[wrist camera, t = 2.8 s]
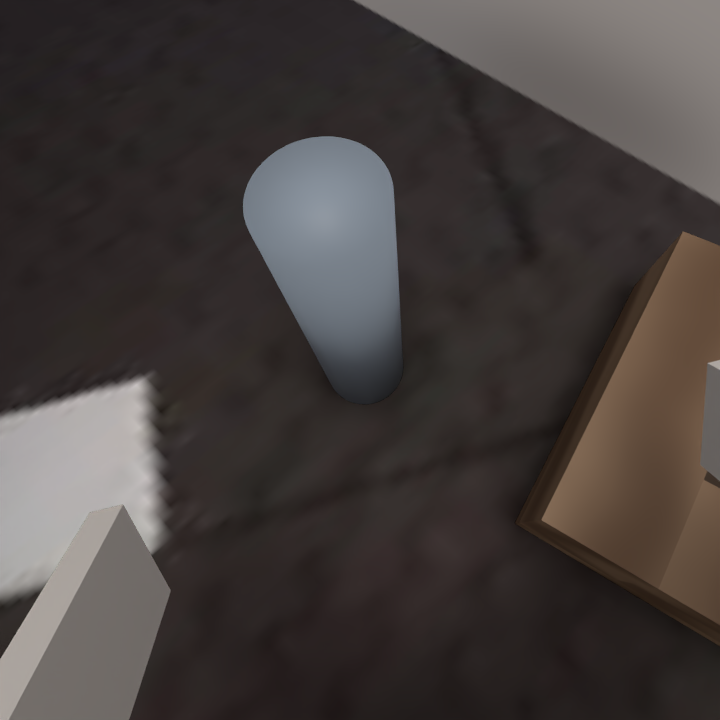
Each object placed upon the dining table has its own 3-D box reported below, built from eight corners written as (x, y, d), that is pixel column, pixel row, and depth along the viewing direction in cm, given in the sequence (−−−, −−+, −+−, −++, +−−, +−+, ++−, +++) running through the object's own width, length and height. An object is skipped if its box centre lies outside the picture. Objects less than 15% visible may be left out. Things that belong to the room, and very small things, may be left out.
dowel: (313, 380, 26) (213, 224, 13) (353, 320, 27) (297, 117, 14) (377, 418, 25) (339, 289, 12) (417, 354, 26) (421, 170, 13)
